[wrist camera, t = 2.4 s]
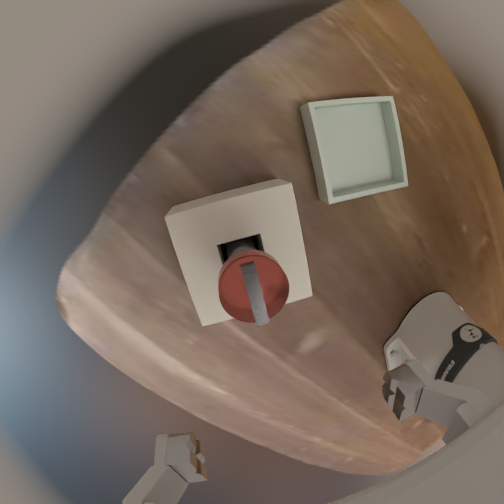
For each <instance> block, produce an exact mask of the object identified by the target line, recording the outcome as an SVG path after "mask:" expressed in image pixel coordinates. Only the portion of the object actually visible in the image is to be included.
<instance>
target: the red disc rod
mask: <svg viewBox="0 0 504 504" xmlns="http://www.w3.org/2000/svg"><path fill="white" fill-rule="evenodd" d="M225 245H226V251H227V257H228V260H227V261H226V262H225V263H224V264H223V266H222V268H221V270H220V272H219V276H218V291H219V299H220V303H221V305H222V307H223V308H224V310H225V311H226V312H227V313H228V314H229V315H230V316H232V317H233V318H235V319H237V320H240V321H243V322H256V325H257V326H260V325H264V324H267V323H270V321H269V318H271V317H272V316H274V315H275V314H277V313H278V312H279V311H280V310H281V309H282V307H283V306H284V305H285V303H286V301H287V299H288V295H289V282H288V278H287V276H286V274H285V273H284V271H283V269H282V268H281V266H280V265H279V263H278V262H277V260H276V259H275V258H274V257H273V256H271V255H270V254H268V253H266V252H263V251H260V250H257V249H256V247H255V245H254V243H253V241H252V239H251V237H250V236H248V237H245V238H241V239H237V240H234V241H230V242H226V243H225Z"/></svg>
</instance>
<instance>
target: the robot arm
mask: <svg viewBox="0 0 504 504" xmlns="http://www.w3.org/2000/svg"><path fill="white" fill-rule="evenodd" d="M384 354H385V360H386V365H387V371H388V372H386V373H385V374H384V376H383V380H384V381H385V383H384V384H383V386H382V393H383V397H384V399H385V401H386V402H387V404H389V405H391V406H393V410H392V411H393V413H394V414H395V416H396V417H397V419H398V420H399V421H401V420H403V419H405V418H407V417H409V416H410V415H412V414H414V413H416V414H417V415H419V416H422V417H424V418H426V419H428V420H431V421H433V422H435V423H437V424H440V425H442V426H444V427H447V430H446V431H445V433H444V435H443V438H442V440H443V441H444V443H445V444H446V446H444V447H442V448H441V449H440V450H438V451H436V452H435V453H433V454H432V455H430V456H429V457H427V458H425V459H423V460H422V461H420V462H418V463H417V464H415V465H413V466H412V467H410V468H408V469H406V470H404V471H402V472H400V473H398V474H396V475H394V476H392V477H390V478H388V479H386V480H384V481H382V482H380V483H378V484H376V485H373V486H371V487H369V488H367V489H364V490H362V491H359V492H357V493H355V494H352V495H349V496H347V497H344V498H341V499H339V500H336V501H333V502H330V503H327V504H504V349H502V348H501V347H500V346H499V345H498V344H497V340H496V339H495V338H494V337H493V336H492V335H491V334H489V333H488V332H486V331H485V330H484V329H482V328H480V327H478V326H477V325H476V324H475V323H474V322H473V321H472V320H471V319H470V317H468V316H467V315H466V314H465V313H464V312H463V308H462V307H461V306H460V305H458V304H456V303H455V302H454V300H453V299H452V298H451V296H450V295H449V294H447V293H445V292H436V293H433V294H430V295H428V296H427V297H425V298H424V299H422V300H421V301H420V302H419V303H417V304H416V305H415V306H414V307H413V308H412V309H411V311H410V312H409V313H408V314H407V316H406V317H405V319H404V320H403V322H402V323H401V325H400V327H399V329H398V330H397V332H396V333H395V334H394V335H393V336H392V337H391V338H390V339H389V340H388V341H387V342H386V344H385V345H384ZM205 460H206V457H205V451H204V448H203V446H202V443H201V442H200V441H199V440H196V435H195V434H194V433H193V432H185V433H176V434H166V435H158V437H157V439H156V447H155V459H154V466H151V467H150V468H149V469H148V471H147V472H146V473H145V475H144V476H143V477H142V478H141V479H140V481H139V482H138V483H137V484H136V485H135V486H134V488H133V489H132V490H131V491H130V492H129V494H128V495H127V496H126V497H125V498H124V500H123V503H122V504H177V503H178V501H179V500H180V498H181V496H182V494H183V493H184V491H185V489H186V487H187V486H188V483H191V482H199V481H207V472H206V467H205V466H204V465H203V463H204V461H205Z"/></svg>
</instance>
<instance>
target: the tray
mask: <svg viewBox="0 0 504 504" xmlns="http://www.w3.org/2000/svg"><path fill="white" fill-rule="evenodd" d="M299 108H300V112H301V116H302V120H303V124H304V128H305V133H306V137H307V141H308V146H309V151H310V155H311V160H312V165H313V170H314V175H315V180H316V185H317V190H318V196H319V200H320V201H322V202H325V203H327V204H333V203H337V202H341V201H345V200H349V199H354V198H358V197H362V196H366V195H371V194H375V193H379V192H384V191H388V190H393V189H397V188H402V187H406V186H408V179H407V170H406V163H405V156H404V149H403V143H402V138H401V132H400V127H399V122H398V117H397V112H396V108H395V103H394V99H393V96H381V97H360V98H346V99H335V100H325V101H316V102H308V103H306V104H304V105H302V106H300V107H299Z"/></svg>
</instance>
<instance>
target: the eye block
mask: <svg viewBox="0 0 504 504" xmlns="http://www.w3.org/2000/svg"><path fill="white" fill-rule="evenodd" d="M165 221H166V224H167V227H168V230H169V233H170V236H171V240H172V243H173V246H174V249H175V252H176V255H177V258H178V261H179V263H180V266H181V269H182V272H183V275H184V278H185V281H186V283H187V286H188V289H189V292H190V294H191V297H192V300H193V303H194V305H195V308H196V310H197V313H198V316H199V318H200V321H201V323H202V326H206V325H210V324H214V323H218V322H222V321H226V320H230V319H234V318H233V317H232V316H230V315H229V314H228V313H227V312H226V311H225V310H224V308H223V307H222V305H221V303H220V299H219V291H218V276H219V272H220V270H221V268H222V266H223V264H224V263H225V260H224V257H223V253H222V250H221V246H220V244H223V243H226V242H230V241H234V240H237V239H241V238H245V237H248V236H252V235H256V240H257V244H258V248H259V250H260V251H263V252H266V253H268V254H270V255H271V256H273V257H274V258H275V259H276V260H277V262H278V263H279V265H280V266H281V268H282V269H283V271H284V273H285V274H286V276H287V278H288V282H289V295H288V299H287V301H286V303H285V304H287V303H291V302H294V301H297V300H301V299H304V298H307V297H311V296H313V295H312V289H311V283H310V276H309V270H308V265H307V259H306V253H305V247H304V242H303V236H302V231H301V226H300V221H299V215H298V210H297V205H296V200H295V196H294V191H293V186H292V183H291V182H287V181H284V180H281V179H278V178H277V179H273V180H268V181H264V182H260V183H256V184H252V185H248V186H244V187H240V188H236V189H232V190H229V191H225V192H221V193H217V194H214V195H210V196H206V197H203V198H199V199H196V200H192V201H189V202H185V203H182V204H179V205H175V206H173V207H172V208H171V209H170V210H169V212H168V213H167V214H166V215H165Z"/></svg>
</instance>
